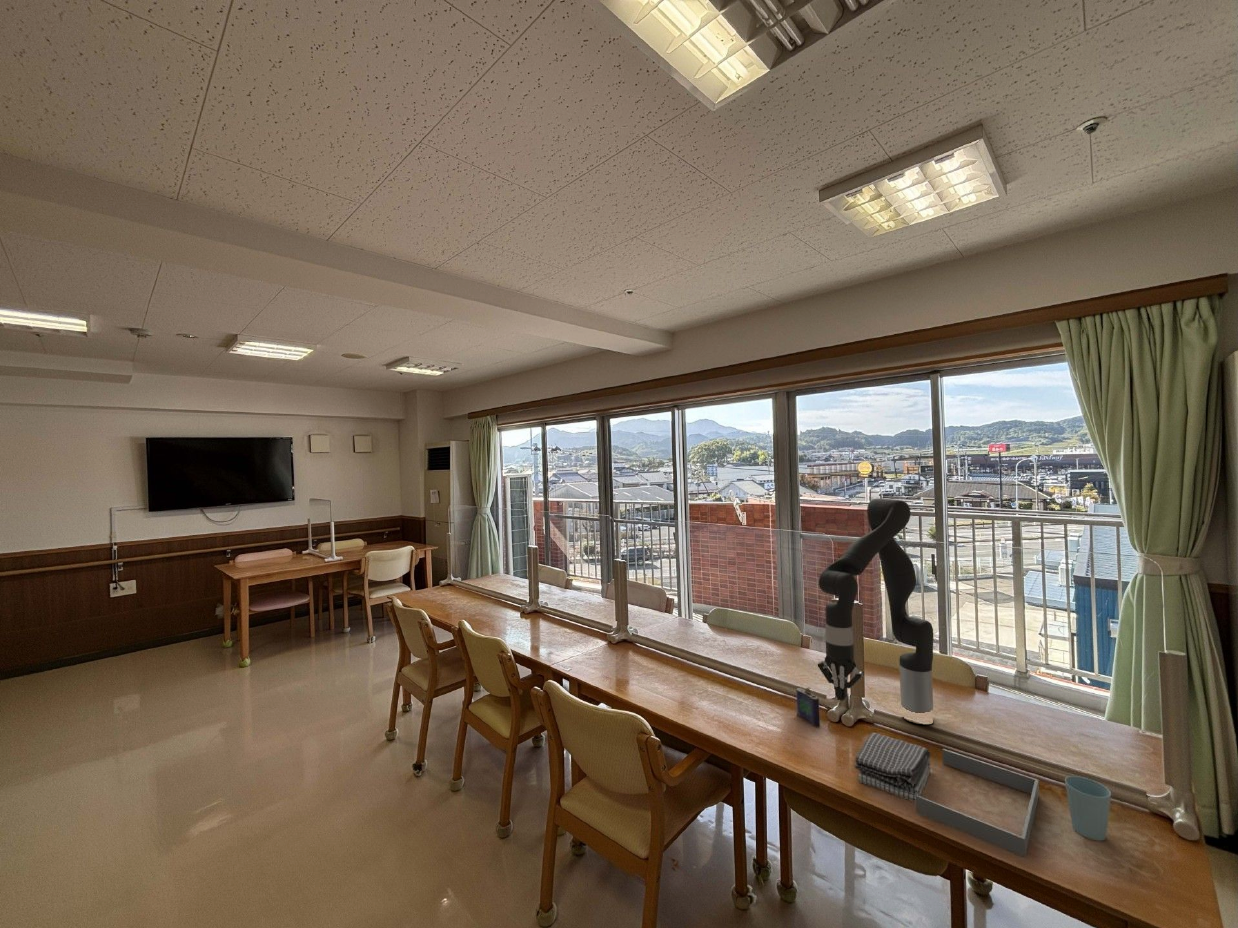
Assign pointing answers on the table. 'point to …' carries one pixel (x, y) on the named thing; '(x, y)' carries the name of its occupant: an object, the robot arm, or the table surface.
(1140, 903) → the table surface
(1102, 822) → the cup
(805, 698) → the flask
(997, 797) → the table surface
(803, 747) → the table surface
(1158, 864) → the table surface
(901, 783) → the towel
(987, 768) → the tray
